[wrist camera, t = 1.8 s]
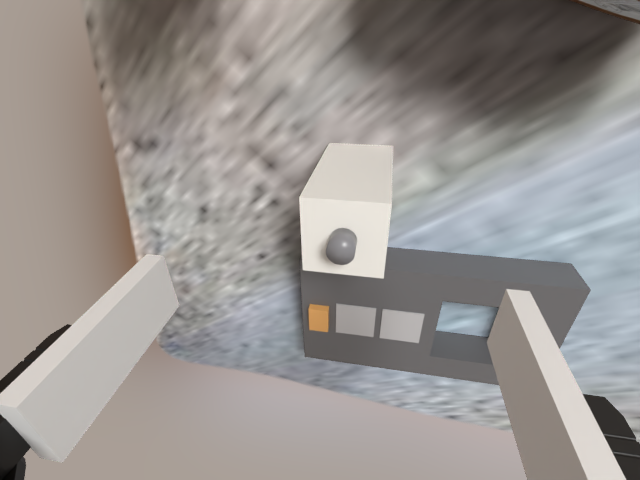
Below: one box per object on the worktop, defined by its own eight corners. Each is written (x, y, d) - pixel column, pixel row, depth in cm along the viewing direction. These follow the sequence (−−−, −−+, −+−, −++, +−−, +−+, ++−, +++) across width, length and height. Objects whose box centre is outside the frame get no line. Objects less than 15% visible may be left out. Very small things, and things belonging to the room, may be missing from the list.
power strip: (571, 263, 25) (595, 295, 22) (525, 361, 31) (539, 397, 28) (307, 240, 29) (297, 265, 26) (311, 332, 34) (303, 361, 31)
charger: (393, 145, 23) (391, 215, 15) (387, 204, 26) (383, 293, 17) (329, 142, 24) (292, 208, 16) (329, 200, 26) (297, 284, 18)
